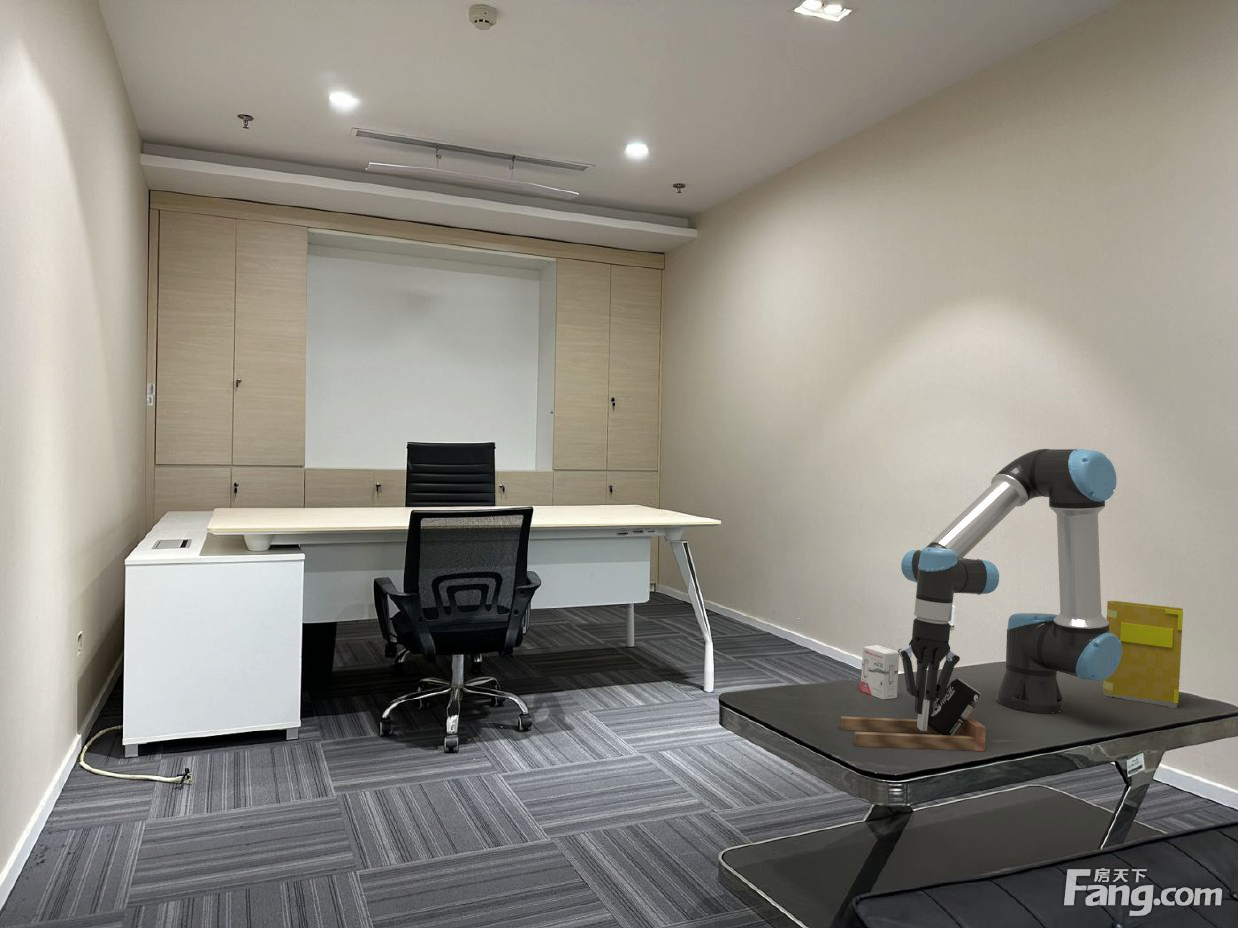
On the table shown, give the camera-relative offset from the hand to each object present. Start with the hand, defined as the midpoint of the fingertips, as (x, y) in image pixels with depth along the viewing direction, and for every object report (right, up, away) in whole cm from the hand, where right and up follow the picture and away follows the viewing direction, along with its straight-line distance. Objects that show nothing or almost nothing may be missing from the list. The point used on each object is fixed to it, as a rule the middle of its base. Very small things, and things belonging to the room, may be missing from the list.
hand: (921, 728), depth 184 cm
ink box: (+1, -2, +35) cm, 35 cm away
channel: (-3, -2, 0) cm, 3 cm away
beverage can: (+3, -1, 0) cm, 3 cm away
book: (+72, -5, +42) cm, 84 cm away
